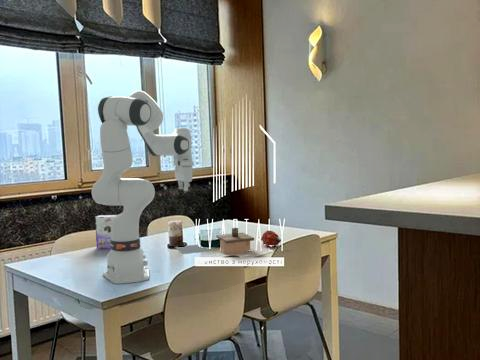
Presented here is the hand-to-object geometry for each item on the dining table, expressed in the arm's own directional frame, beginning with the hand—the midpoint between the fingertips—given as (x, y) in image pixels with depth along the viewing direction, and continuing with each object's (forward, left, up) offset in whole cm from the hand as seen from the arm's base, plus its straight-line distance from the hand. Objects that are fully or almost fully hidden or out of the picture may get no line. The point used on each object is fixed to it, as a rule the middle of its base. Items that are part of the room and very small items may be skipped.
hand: (183, 190), depth 238 cm
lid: (-14, -21, -24) cm, 35 cm away
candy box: (+20, +33, -30) cm, 49 cm away
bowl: (-14, -21, -30) cm, 39 cm away
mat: (-2, -4, -30) cm, 30 cm away
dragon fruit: (-12, -41, -30) cm, 52 cm away
